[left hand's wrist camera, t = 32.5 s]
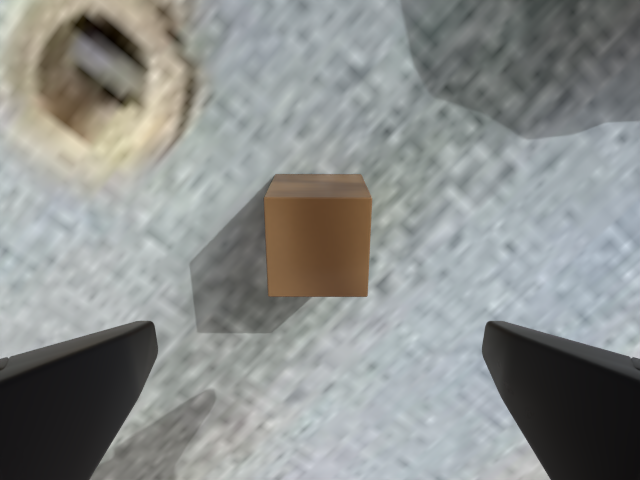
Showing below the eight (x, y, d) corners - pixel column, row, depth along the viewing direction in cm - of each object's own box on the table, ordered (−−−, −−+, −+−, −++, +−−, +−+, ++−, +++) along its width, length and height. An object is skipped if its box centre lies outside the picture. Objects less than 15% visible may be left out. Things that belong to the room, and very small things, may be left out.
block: (277, 256, 22) (268, 296, 18) (275, 173, 20) (263, 197, 16) (358, 256, 22) (367, 297, 18) (361, 174, 20) (372, 197, 16)
